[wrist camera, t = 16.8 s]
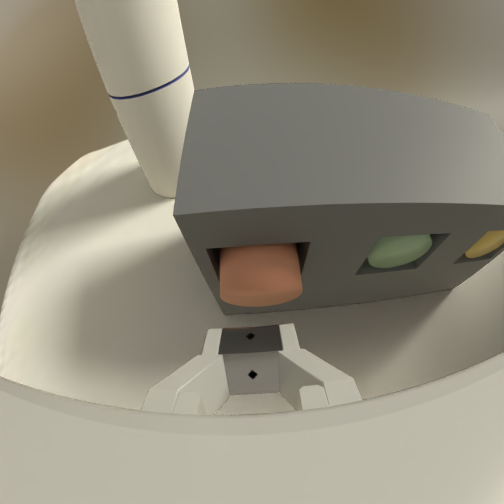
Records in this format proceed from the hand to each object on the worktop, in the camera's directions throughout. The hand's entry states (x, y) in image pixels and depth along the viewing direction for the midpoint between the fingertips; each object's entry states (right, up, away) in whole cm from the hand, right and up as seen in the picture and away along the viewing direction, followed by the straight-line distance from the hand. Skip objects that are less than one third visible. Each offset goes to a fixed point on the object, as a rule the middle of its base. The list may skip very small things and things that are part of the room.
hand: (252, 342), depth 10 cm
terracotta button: (0, +2, +6) cm, 7 cm away
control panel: (+9, +3, +15) cm, 17 cm away
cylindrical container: (-8, +12, +20) cm, 25 cm away
